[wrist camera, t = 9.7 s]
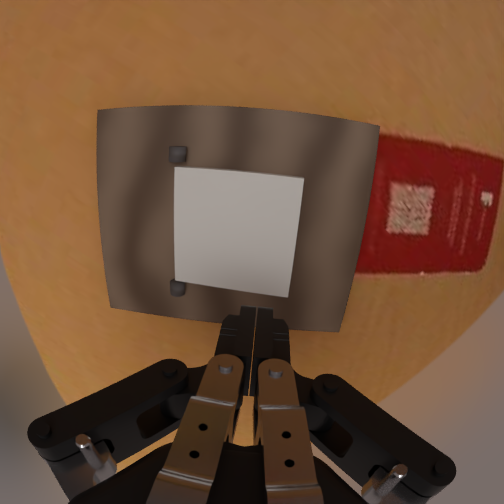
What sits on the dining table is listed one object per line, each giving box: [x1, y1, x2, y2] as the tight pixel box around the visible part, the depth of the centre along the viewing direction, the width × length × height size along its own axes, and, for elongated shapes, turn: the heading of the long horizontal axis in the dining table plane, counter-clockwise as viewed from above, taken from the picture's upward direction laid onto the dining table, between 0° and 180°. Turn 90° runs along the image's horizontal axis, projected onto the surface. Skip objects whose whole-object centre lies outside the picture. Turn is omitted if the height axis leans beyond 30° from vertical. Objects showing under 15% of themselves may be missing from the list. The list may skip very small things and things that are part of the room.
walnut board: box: [97, 105, 380, 332], centre depth 26 cm, size 24×20×3 cm
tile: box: [174, 166, 304, 298], centre depth 25 cm, size 10×10×1 cm
